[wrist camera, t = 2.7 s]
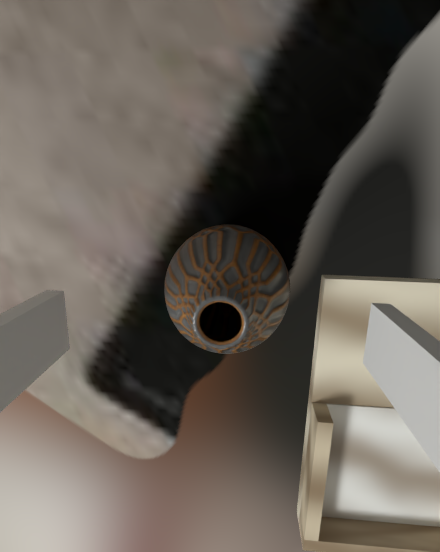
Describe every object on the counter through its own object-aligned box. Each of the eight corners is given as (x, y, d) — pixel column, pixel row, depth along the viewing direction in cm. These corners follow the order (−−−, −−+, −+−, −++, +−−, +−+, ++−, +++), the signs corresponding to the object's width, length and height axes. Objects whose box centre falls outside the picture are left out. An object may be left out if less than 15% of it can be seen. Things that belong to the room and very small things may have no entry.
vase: (222, 196, 21) (207, 203, 13) (304, 264, 22) (341, 315, 13) (159, 276, 23) (107, 331, 14) (236, 337, 23) (231, 423, 15)
